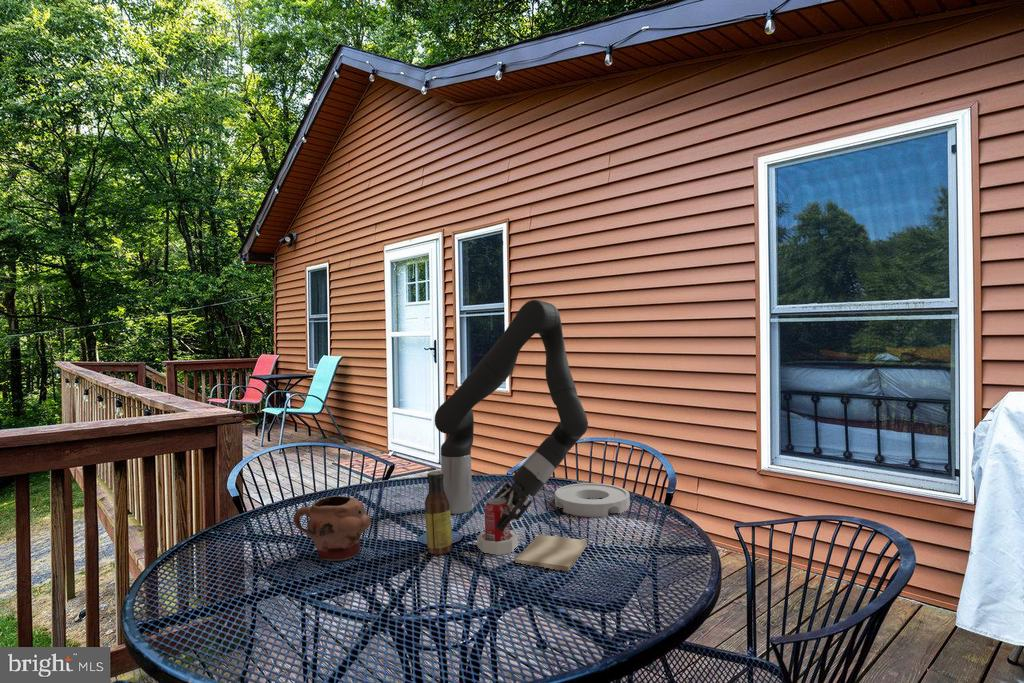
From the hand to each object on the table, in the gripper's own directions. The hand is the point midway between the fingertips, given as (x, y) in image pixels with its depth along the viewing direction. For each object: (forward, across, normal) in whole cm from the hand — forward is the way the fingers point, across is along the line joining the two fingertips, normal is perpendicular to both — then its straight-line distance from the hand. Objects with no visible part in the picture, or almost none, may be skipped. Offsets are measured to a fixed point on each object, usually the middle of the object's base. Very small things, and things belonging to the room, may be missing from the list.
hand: (492, 523), depth 146 cm
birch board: (-4, +9, +13) cm, 17 cm away
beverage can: (+4, 0, +5) cm, 7 cm away
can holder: (+4, 0, +5) cm, 6 cm away
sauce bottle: (+14, -4, -5) cm, 15 cm away
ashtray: (-23, -22, +33) cm, 46 cm away
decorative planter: (+32, -11, -22) cm, 41 cm away
